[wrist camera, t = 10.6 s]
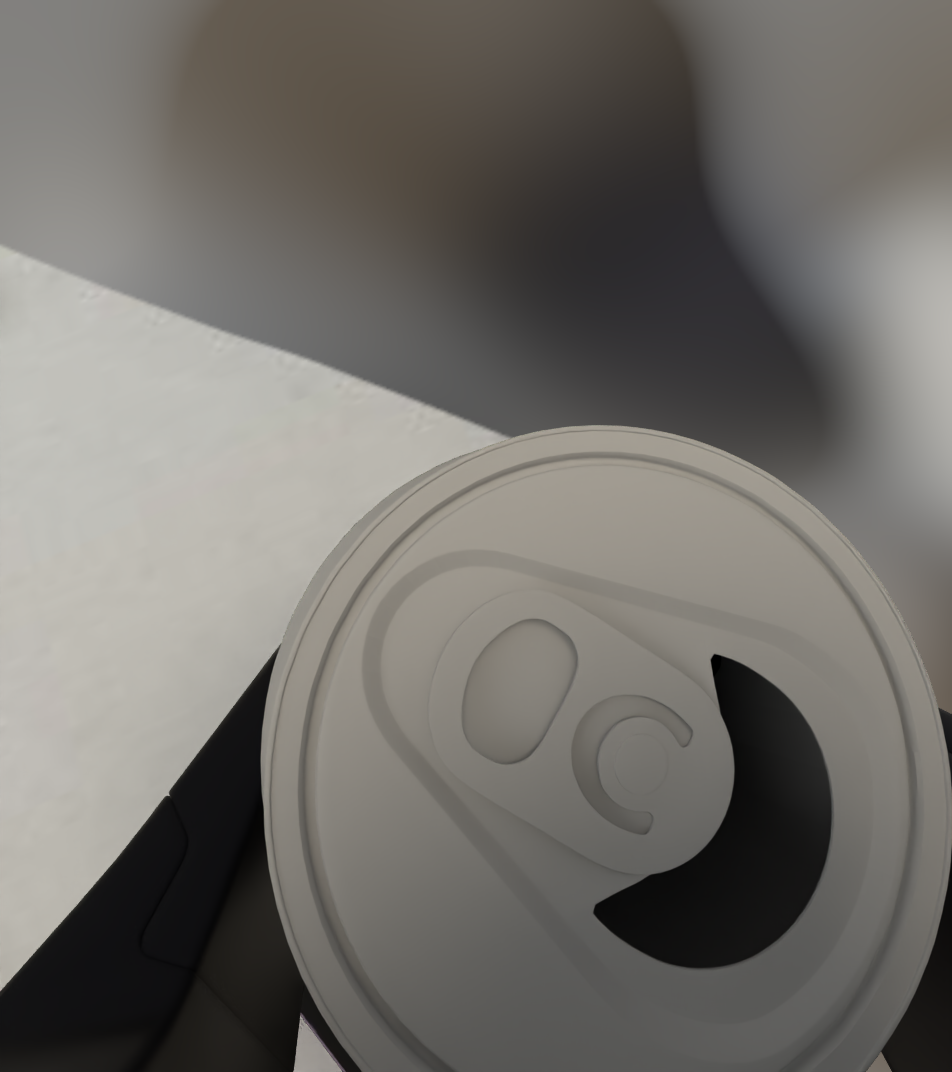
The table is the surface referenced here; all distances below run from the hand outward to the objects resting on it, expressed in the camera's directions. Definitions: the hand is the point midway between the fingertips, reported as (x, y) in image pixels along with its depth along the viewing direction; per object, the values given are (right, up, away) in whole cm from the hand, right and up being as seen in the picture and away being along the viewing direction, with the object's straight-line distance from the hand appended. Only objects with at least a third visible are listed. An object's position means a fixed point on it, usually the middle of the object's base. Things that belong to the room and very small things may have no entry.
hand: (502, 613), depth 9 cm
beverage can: (-1, -3, +6) cm, 7 cm away
